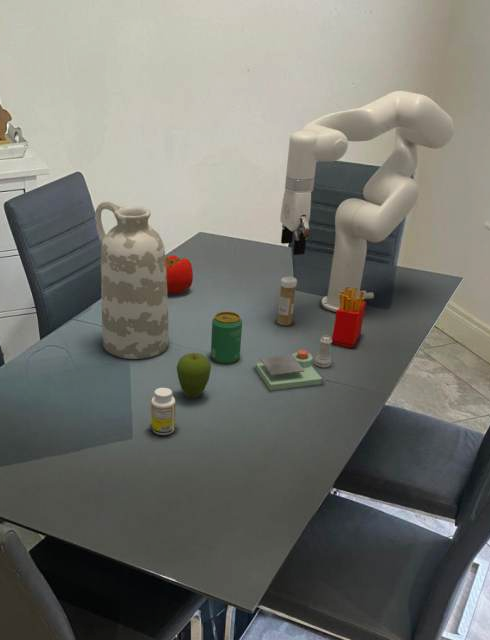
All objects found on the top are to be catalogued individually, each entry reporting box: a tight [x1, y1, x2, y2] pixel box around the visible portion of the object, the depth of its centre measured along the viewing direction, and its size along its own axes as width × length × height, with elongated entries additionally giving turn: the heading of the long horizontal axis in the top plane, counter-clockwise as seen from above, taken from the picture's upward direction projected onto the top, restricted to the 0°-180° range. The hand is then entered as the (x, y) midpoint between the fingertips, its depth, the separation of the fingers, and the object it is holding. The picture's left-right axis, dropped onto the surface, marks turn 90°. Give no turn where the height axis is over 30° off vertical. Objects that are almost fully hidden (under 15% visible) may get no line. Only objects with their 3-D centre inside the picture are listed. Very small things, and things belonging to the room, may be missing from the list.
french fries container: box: [331, 286, 367, 348], centre depth 208 cm, size 7×9×14 cm
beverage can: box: [210, 311, 243, 365], centre depth 200 cm, size 8×8×12 cm
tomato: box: [165, 254, 194, 295], centre depth 238 cm, size 14×13×10 cm
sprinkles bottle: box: [276, 276, 298, 326], centre depth 217 cm, size 5×5×13 cm
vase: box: [94, 201, 170, 360], centre depth 198 cm, size 20×19×38 cm
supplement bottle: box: [150, 387, 176, 436], centre depth 171 cm, size 6×6×10 cm
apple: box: [176, 352, 212, 399], centre depth 184 cm, size 9×8×12 cm
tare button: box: [297, 349, 309, 360], centre depth 196 cm, size 3×3×2 cm
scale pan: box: [259, 354, 305, 375], centre depth 192 cm, size 9×9×1 cm
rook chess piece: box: [314, 334, 332, 369], centre depth 198 cm, size 4×4×8 cm
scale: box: [254, 351, 323, 391], centre depth 194 cm, size 15×12×4 cm
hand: (292, 248), depth 207 cm, fingers open, 9 cm apart
